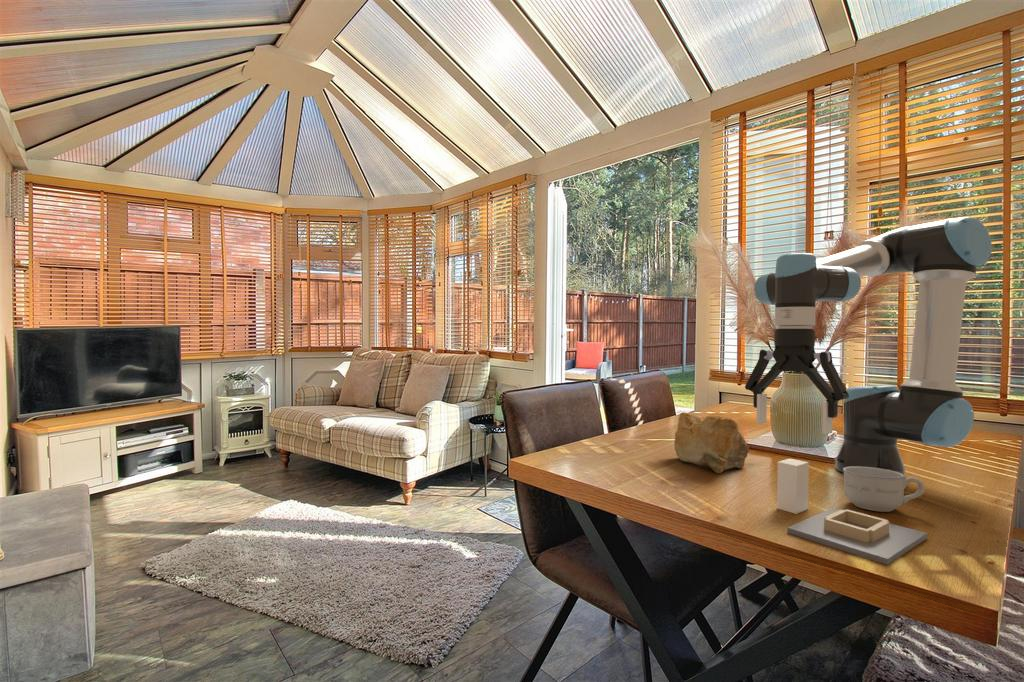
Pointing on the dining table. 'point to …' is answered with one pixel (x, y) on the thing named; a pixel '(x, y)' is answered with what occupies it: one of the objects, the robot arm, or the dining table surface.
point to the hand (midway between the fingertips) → (792, 428)
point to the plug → (792, 485)
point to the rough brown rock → (710, 442)
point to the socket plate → (859, 534)
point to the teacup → (878, 488)
